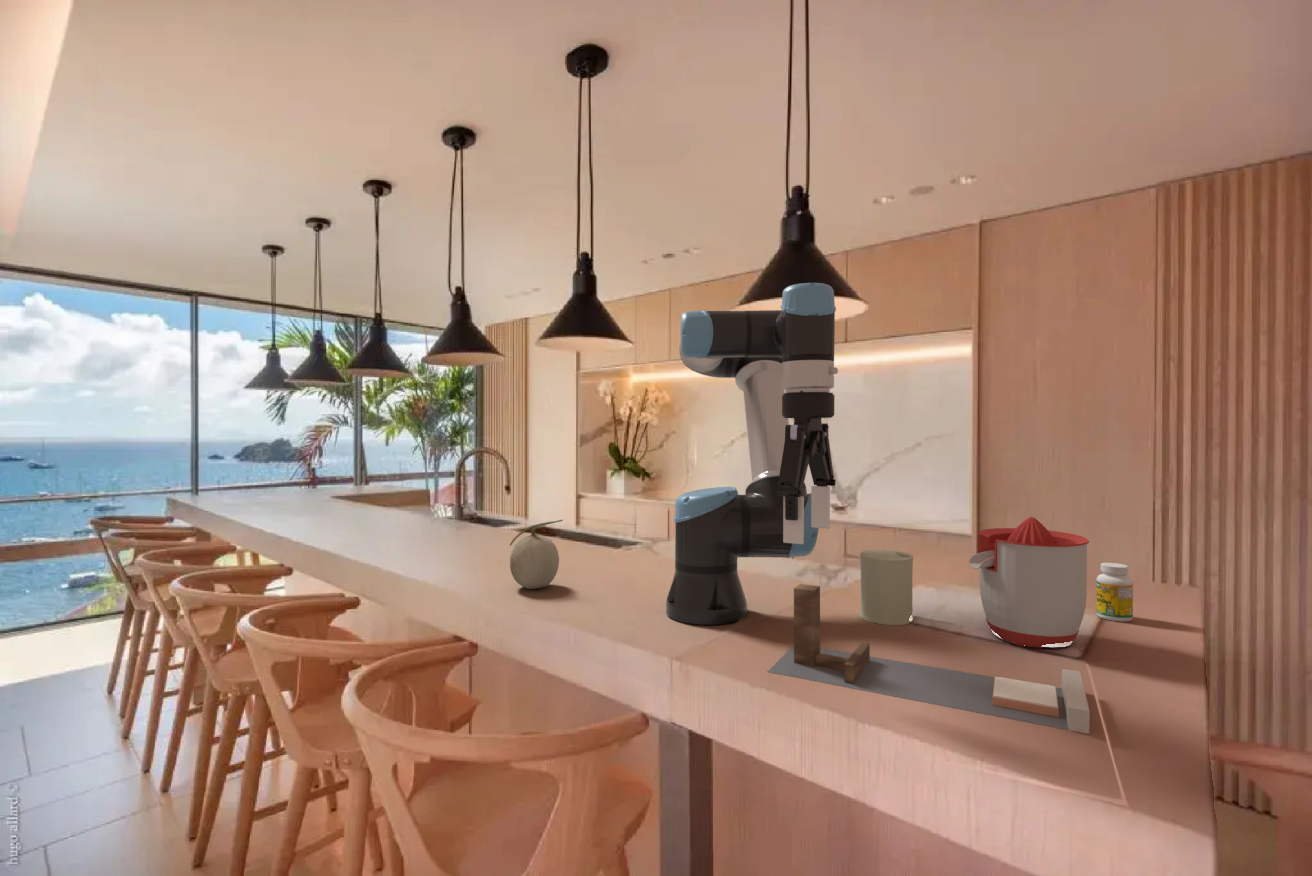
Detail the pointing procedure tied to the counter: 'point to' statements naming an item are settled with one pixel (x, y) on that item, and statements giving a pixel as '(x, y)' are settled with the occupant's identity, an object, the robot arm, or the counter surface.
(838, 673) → the grey board
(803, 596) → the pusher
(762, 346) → the robot arm
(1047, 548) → the citrus juicer
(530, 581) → the fruit
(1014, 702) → the tile
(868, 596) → the can
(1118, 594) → the supplement bottle
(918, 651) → the counter surface
